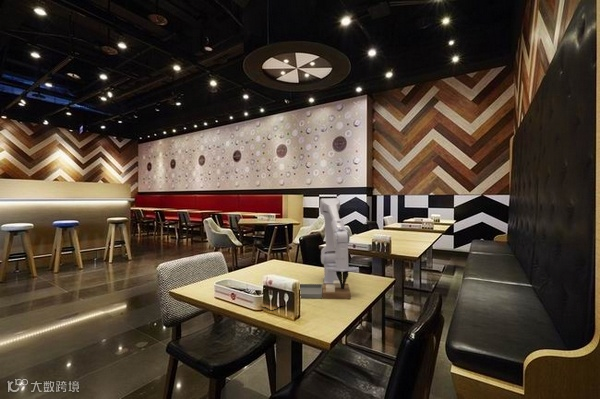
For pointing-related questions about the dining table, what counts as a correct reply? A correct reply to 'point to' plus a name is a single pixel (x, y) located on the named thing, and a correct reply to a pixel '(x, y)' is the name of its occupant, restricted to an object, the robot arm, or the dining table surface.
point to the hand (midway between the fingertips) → (342, 288)
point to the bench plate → (336, 292)
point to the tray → (311, 291)
